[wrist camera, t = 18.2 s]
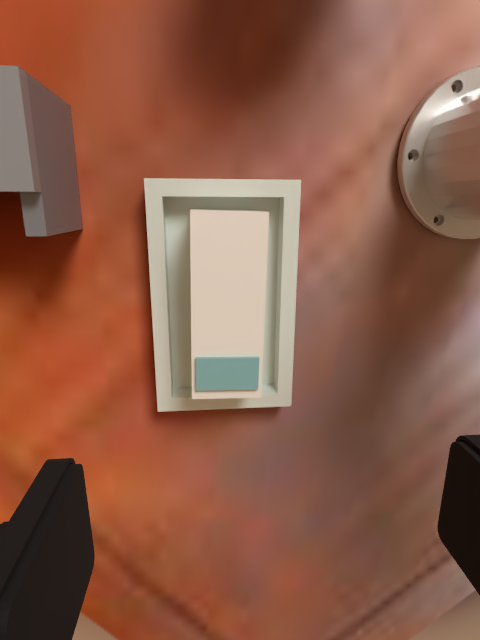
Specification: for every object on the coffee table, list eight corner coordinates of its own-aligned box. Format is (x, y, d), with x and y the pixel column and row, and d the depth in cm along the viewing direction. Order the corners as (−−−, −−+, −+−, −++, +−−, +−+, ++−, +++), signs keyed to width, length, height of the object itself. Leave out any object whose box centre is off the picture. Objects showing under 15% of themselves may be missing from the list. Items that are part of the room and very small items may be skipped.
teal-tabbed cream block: (256, 210, 31) (270, 212, 25) (251, 365, 35) (262, 399, 29) (192, 209, 31) (189, 210, 25) (193, 366, 34) (191, 401, 28)
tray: (293, 181, 31) (301, 179, 29) (285, 392, 36) (291, 406, 34) (148, 180, 30) (143, 178, 28) (160, 397, 35) (157, 411, 33)
